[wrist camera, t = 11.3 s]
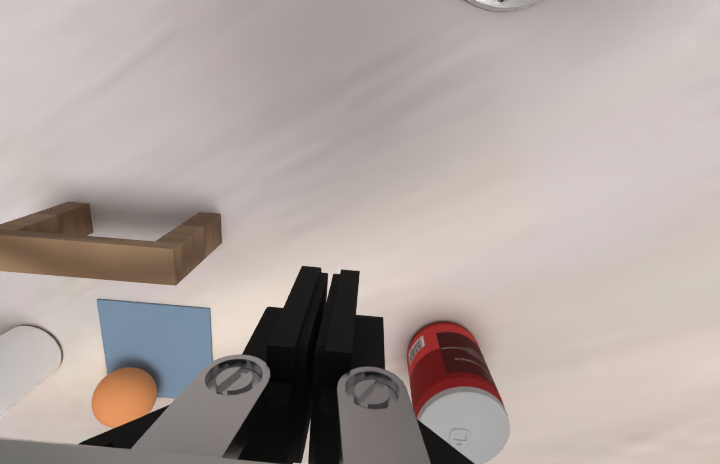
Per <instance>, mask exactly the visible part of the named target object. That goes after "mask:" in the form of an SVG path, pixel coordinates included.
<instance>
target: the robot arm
mask: <svg viewBox="0 0 720 464" xmlns="http://www.w3.org/2000/svg"><path fill="white" fill-rule="evenodd" d="M466 1H468V2H469V3H471V4H473V5H475V6H478V7H481V8H483V9H486V10H492V11H500V12H504V11H516V10H520V9H523V8H526V7H530V6H533V5H534V4H536V3H538V2H540V1H542V0H503V1H502V3H499V2H498V0H466ZM359 274H360V271H352V270H341V273H340V274H333V278H332V282H331V286H330V290H329V294H328V298H327V283H328V273H321V268H319V267H308V266H302V267H301V269H300V272H299V274H298V276H297V278H296V281H295V283H294V285H293V287H292V290H291V292H290V294H289V296H288V299H287V301H286V303H285V305H284V308H277V307H267V308H266V310H265V312H264V314H263V315H262V317H261V319H260V321H259V323H258V325H257V327H256V329H255V331H254V333H253V335H252V336H251V338H250V340H249V342H248V344H247V346H246V348H245V350H244V352H243V354H242V355H229V356H226V357H222V358H219V359H217V360H215V361H213V362H211V363H209V364H208V365H207V366H205V367H204V368H203V369H202V370H201V371H200V372H199V373H198V374H197V376H196V377H195V378H194V379H193V380H192V381H191V382H190V383H189V384H188V386H187V387H186V388H185V389H184V390H183V391H182V392H181V393H180V395H179V396H178V397H177V398H176V399H175V400H174V401H173V402H172V403H171V404H170V405H168V406H166V407H163V408H161V409H159V410H156V411H154V412H151V413H149V414H147V415H144V416H142V417H140V418H137V419H135V420H133V421H130V422H128V423H126V424H123V425H121V426H118V427H116V428H114V429H111V430H109V431H107V432H104V433H102V434H100V435H97V436H95V437H93V438H90V439H88V440H85V441H83V442H81V443H79V444H67V443H56V442H45V441H34V440H23V439H12V438H1V437H0V464H293V463H301V462H302V458H303V454H304V449H305V444H306V439H307V434H308V429H309V424H310V419H311V424H310V442H309V460H308V464H474V463H473V462H472V461H471V460H469V459H468V458H467V457H465V456H464V455H463V454H462V453H460V452H459V451H458V450H456V449H455V448H454V447H453V446H451V445H450V444H449V443H447V442H446V441H445V440H444V439H442V438H441V437H440V436H438V435H437V434H436V433H435V432H433V431H432V430H431V429H429V428H428V427H427V426H426V425H424V424H423V423H422V422H420V421H419V420H418V419H417V418H416V416H415V413H414V410H413V407H412V404H411V400H410V397H409V394H408V391H407V388H406V386H405V385H404V383H403V381H402V380H401V379H400V378H399V377H398V376H396V375H395V374H393V373H391V372H389V371H388V370H385V356H384V327H383V317H374V316H363V315H356V307H357V296H358V285H359ZM326 299H327V302H326Z"/></svg>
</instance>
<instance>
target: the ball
mask: <svg viewBox="0 0 720 464" xmlns="http://www.w3.org/2000/svg"><path fill="white" fill-rule="evenodd" d="M156 397H157V387H156V383H155V381H154V379H153V378H152V376H151V375H150V374H149V373H147V372H146V371H144V370H142V369H139V368H133V367H127V368H122V369H118V370H116V371H114V372H112V373H110V374H109V375H107V376H106V377H105V378H104V379H102V381H101V382H100V383H99V384H98V386H97V387H96V389H95V391H94V394H93V397H92V410H93V413H94V415H95V417H96V418H97V420H98V421H99V422H100V423H102V424H103V425H105V426H108V427H111V428H116V427H118V426H121V425H123V424H126V423H128V422H130V421H133V420H135V419H137V418H140V417H142V416H144V415H147V414H149V412H150V411H151V409H152V408H153V406H154V404H155V401H156Z"/></svg>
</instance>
